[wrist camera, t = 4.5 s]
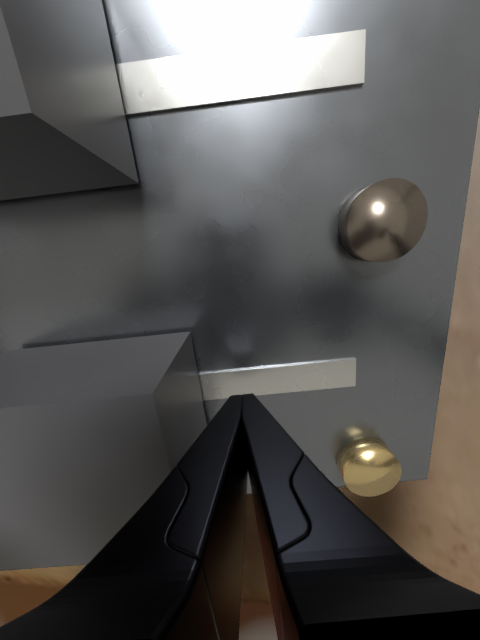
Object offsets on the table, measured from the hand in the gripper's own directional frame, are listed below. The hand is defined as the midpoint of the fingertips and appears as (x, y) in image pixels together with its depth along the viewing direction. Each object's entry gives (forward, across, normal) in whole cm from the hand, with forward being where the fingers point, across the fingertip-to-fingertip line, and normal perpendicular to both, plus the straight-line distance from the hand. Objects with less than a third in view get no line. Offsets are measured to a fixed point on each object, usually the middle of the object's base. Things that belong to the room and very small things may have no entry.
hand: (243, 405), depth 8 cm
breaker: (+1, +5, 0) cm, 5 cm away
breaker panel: (+4, +2, -4) cm, 6 cm away
